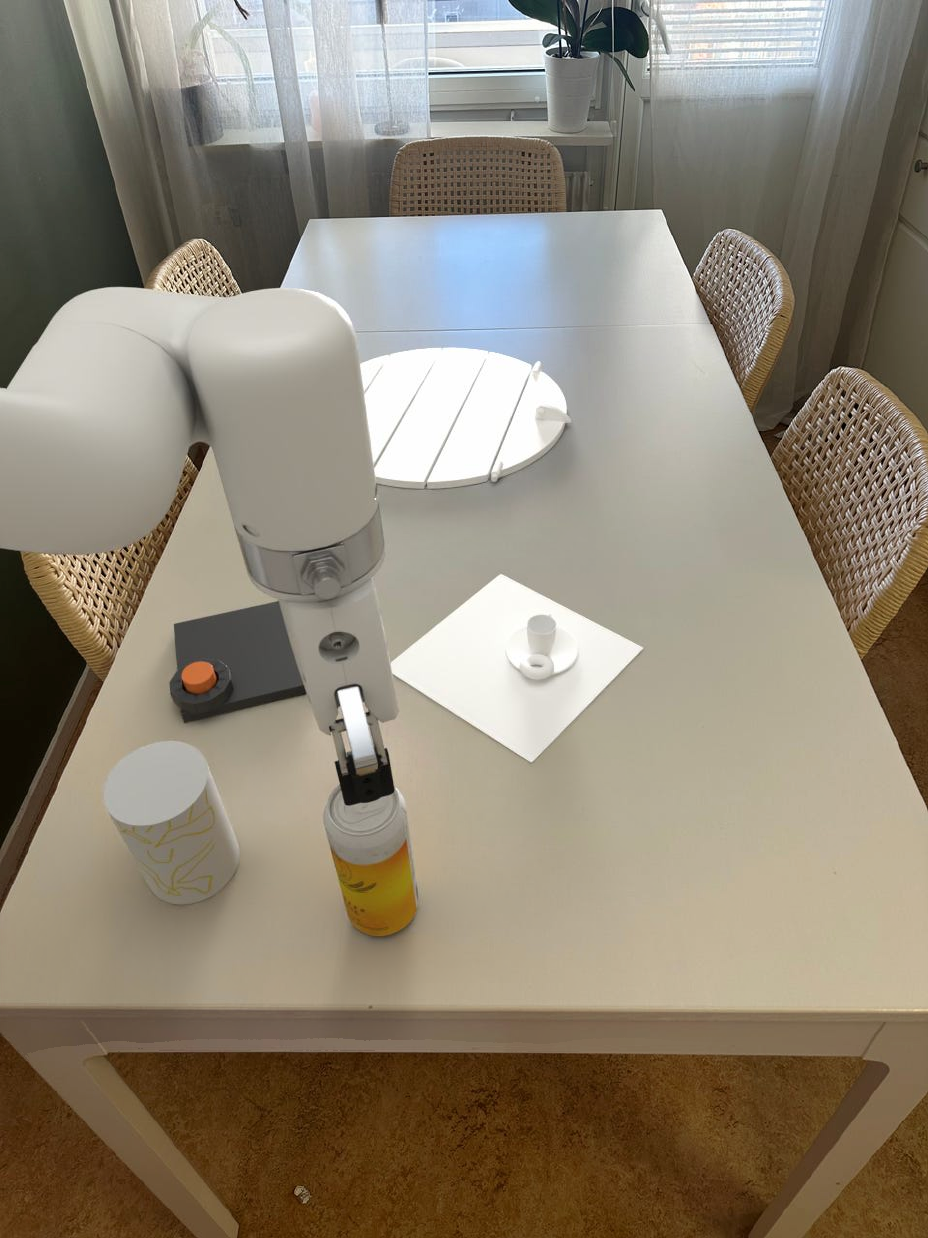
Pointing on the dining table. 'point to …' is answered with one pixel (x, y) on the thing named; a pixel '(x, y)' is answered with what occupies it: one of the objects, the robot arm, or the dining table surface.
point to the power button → (199, 677)
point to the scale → (236, 661)
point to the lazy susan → (457, 416)
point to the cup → (173, 821)
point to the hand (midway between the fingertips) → (354, 738)
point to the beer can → (373, 861)
